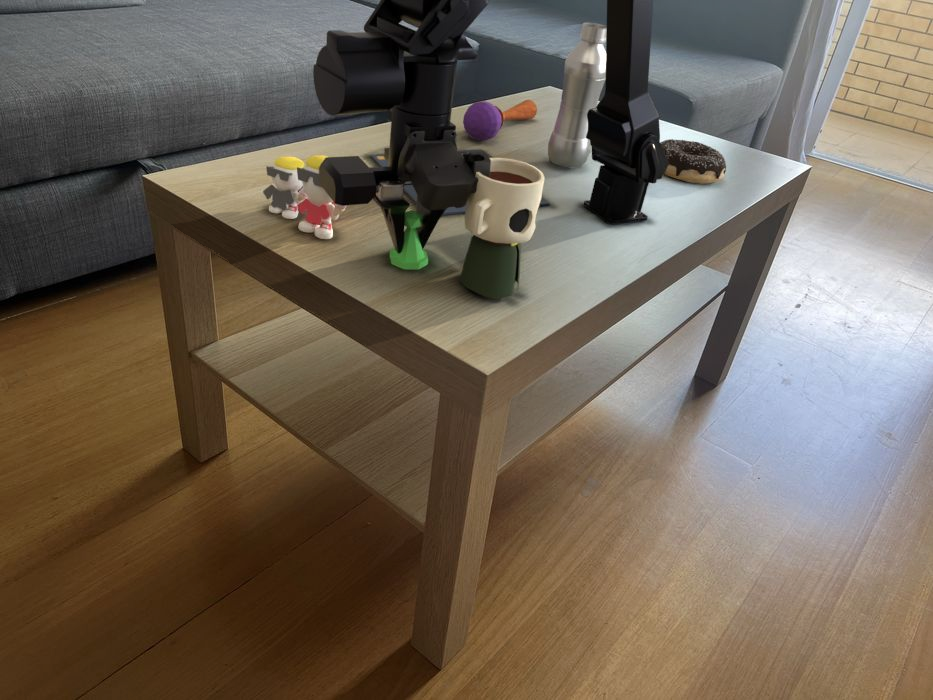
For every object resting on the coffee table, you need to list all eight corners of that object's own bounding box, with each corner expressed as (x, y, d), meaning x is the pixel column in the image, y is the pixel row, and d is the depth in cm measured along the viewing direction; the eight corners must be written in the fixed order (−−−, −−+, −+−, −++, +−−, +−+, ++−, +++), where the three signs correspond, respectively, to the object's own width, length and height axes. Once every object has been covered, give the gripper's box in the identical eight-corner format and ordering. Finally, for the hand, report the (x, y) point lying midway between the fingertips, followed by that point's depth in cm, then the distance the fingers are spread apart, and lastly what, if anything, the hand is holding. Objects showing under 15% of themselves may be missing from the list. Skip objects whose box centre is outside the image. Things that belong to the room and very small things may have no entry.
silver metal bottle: (539, 165, 109) (566, 24, 98) (551, 153, 115) (579, 17, 103) (580, 176, 108) (612, 34, 96) (590, 163, 113) (623, 27, 102)
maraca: (549, 101, 125) (495, 114, 109) (536, 133, 128) (482, 150, 112) (520, 85, 126) (463, 96, 110) (508, 118, 130) (451, 132, 114)
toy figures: (258, 207, 85) (256, 137, 80) (288, 198, 88) (288, 131, 83) (326, 245, 79) (327, 173, 75) (355, 235, 82) (359, 165, 78)
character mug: (492, 321, 71) (515, 198, 64) (432, 295, 74) (447, 174, 66) (540, 280, 79) (565, 167, 72) (484, 258, 82) (503, 147, 75)
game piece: (423, 273, 77) (428, 222, 74) (384, 265, 78) (388, 213, 74) (431, 255, 81) (437, 206, 77) (394, 248, 81) (398, 198, 78)
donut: (681, 156, 122) (688, 132, 120) (736, 183, 114) (745, 158, 112) (635, 162, 116) (642, 138, 114) (691, 191, 109) (699, 165, 106)
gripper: (359, 138, 60) (351, 299, 69) (547, 132, 68) (518, 276, 77) (318, 97, 68) (316, 246, 77) (491, 95, 76) (471, 230, 85)
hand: (408, 250), depth 78 cm, fingers closed on game piece, 2 cm apart
